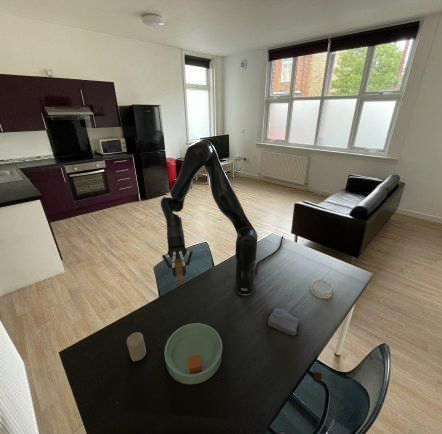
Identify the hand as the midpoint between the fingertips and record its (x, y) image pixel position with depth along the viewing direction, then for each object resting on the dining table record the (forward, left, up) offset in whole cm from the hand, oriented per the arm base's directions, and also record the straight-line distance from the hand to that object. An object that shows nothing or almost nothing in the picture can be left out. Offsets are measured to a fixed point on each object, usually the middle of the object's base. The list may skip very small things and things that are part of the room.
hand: (179, 276), depth 103 cm
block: (+24, +21, -16) cm, 35 cm away
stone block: (-9, +45, -17) cm, 49 cm away
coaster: (-35, +58, -17) cm, 69 cm away
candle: (+27, -1, -17) cm, 32 cm away
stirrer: (-2, -1, -5) cm, 6 cm away
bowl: (+19, +18, -16) cm, 31 cm away
